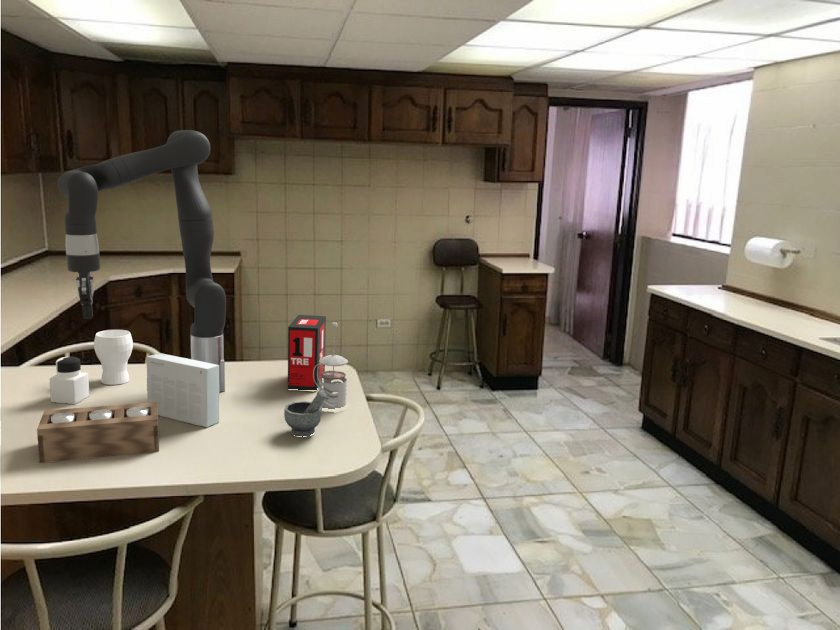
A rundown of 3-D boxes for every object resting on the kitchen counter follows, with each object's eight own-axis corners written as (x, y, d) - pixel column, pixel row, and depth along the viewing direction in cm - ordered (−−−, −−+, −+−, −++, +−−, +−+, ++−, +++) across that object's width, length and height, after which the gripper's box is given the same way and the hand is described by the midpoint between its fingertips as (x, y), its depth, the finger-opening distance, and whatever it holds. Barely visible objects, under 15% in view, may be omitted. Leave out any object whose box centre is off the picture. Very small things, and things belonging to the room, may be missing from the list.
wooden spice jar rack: (158, 431, 173) (157, 402, 171) (159, 451, 162) (157, 419, 160) (46, 442, 163) (44, 410, 162) (39, 463, 152) (36, 429, 151)
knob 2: (148, 425, 168) (148, 405, 167) (148, 432, 163) (148, 412, 162) (127, 427, 166) (126, 407, 165) (127, 434, 162) (126, 414, 161)
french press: (334, 415, 190) (337, 328, 184) (303, 405, 196) (304, 321, 190) (356, 405, 198) (359, 322, 192) (325, 397, 204) (327, 315, 198)
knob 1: (76, 431, 162) (75, 411, 161) (74, 439, 158) (73, 418, 156) (53, 433, 160) (52, 413, 159) (51, 441, 156) (49, 420, 155)
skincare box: (221, 421, 181) (220, 364, 178) (207, 428, 176) (205, 369, 173) (161, 406, 190) (159, 351, 186) (146, 412, 185) (144, 356, 181)
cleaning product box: (297, 373, 224) (298, 314, 220) (324, 375, 224) (325, 316, 220) (287, 390, 208) (288, 326, 204) (316, 391, 208) (317, 328, 204)
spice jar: (113, 428, 165) (112, 408, 164) (112, 435, 160) (111, 415, 159) (91, 430, 163) (90, 410, 162) (89, 437, 159) (88, 417, 158)
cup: (109, 374, 214) (106, 328, 211) (141, 377, 213) (139, 330, 209) (88, 384, 204) (85, 336, 200) (121, 388, 202) (119, 339, 199)
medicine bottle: (89, 396, 195) (87, 355, 192) (75, 404, 188) (72, 363, 185) (66, 394, 195) (63, 353, 193) (50, 402, 188) (47, 361, 186)
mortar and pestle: (277, 437, 173) (278, 392, 171) (292, 423, 182) (293, 381, 180) (319, 443, 171) (320, 397, 168) (332, 429, 180) (333, 386, 177)
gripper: (98, 255, 168) (103, 323, 172) (100, 247, 179) (104, 311, 183) (63, 256, 165) (69, 325, 169) (68, 248, 177) (73, 313, 181)
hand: (88, 318), depth 176 cm, fingers closed
